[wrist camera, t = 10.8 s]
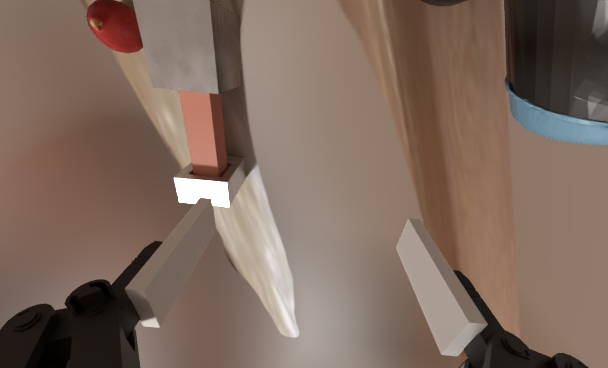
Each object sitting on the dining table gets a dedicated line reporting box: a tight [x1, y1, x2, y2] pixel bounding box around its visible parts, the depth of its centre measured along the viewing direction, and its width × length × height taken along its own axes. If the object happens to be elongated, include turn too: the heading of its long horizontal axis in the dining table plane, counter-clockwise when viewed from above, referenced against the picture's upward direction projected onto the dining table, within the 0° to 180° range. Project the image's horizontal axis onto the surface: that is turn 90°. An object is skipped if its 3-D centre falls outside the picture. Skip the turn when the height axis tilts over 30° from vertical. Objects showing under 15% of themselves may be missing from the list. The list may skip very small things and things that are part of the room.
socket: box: [174, 155, 246, 207], centre depth 38 cm, size 4×8×10 cm, turn 85°
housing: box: [133, 0, 242, 94], centre depth 29 cm, size 9×8×10 cm
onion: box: [87, 0, 143, 53], centre depth 29 cm, size 6×6×8 cm
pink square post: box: [179, 90, 228, 177], centre depth 34 cm, size 18×4×4 cm, turn 175°
